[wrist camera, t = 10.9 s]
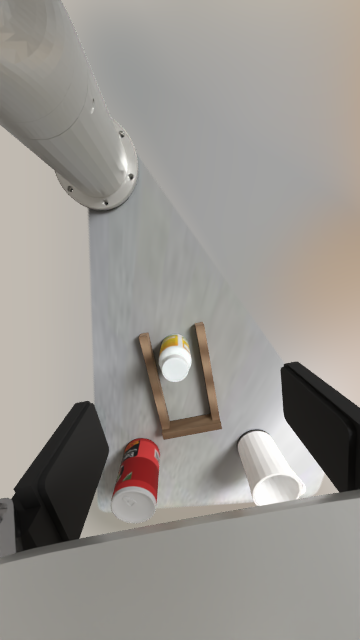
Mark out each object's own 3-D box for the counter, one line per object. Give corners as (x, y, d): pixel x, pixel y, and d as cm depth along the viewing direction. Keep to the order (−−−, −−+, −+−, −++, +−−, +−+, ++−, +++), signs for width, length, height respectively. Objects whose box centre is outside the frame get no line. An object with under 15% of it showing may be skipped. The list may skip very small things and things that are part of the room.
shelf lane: (140, 333, 38) (137, 339, 35) (202, 322, 38) (204, 326, 35) (164, 428, 44) (163, 439, 41) (218, 418, 44) (221, 428, 41)
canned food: (134, 431, 44) (122, 484, 33) (166, 446, 45) (164, 501, 34) (118, 456, 45) (102, 514, 35) (150, 469, 46) (143, 529, 36)
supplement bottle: (192, 338, 39) (199, 360, 30) (182, 362, 40) (185, 390, 31) (166, 329, 38) (164, 348, 29) (157, 354, 39) (152, 380, 30)
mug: (230, 456, 46) (246, 507, 36) (241, 424, 44) (261, 469, 34) (274, 463, 47) (301, 515, 37) (287, 432, 45) (320, 478, 35)
